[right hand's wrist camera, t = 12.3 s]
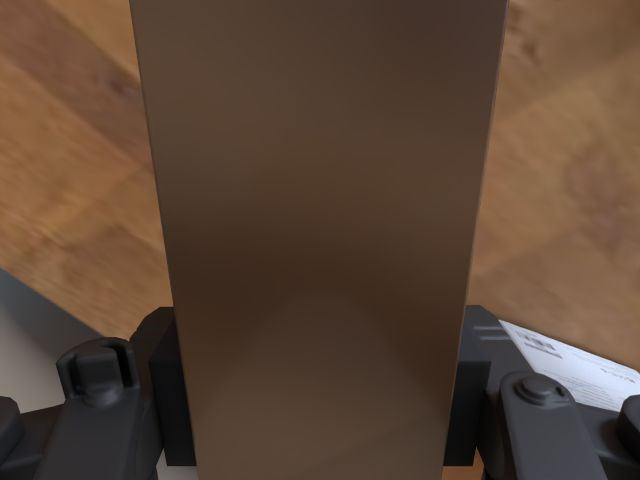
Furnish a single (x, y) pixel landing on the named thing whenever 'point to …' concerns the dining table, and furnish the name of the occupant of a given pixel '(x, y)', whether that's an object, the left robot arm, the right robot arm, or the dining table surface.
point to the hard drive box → (576, 369)
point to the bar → (319, 222)
